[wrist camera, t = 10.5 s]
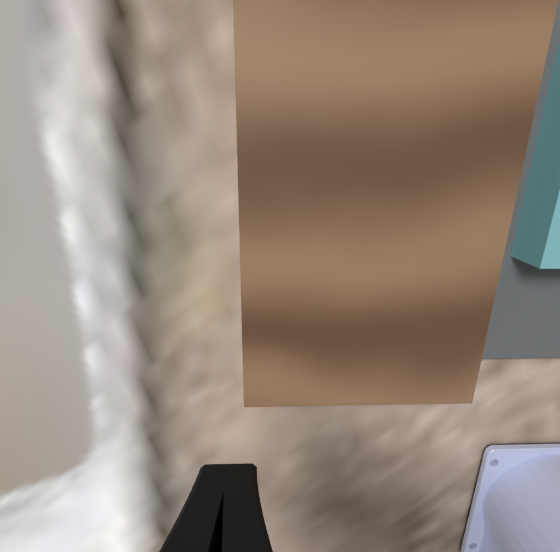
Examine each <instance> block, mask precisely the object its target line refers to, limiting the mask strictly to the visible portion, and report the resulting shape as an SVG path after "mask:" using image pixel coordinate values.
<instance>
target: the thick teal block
mask: <svg viewBox="0 0 560 552" xmlns="http://www.w3.org/2000/svg"><path fill="white" fill-rule="evenodd" d="M511 257H513V258H516V259H518V260H521V261H523V262H525V263H528V264H530V265H532V266H535V267H537V268H539V269H560V42H559V43H558V45H557V50H556V54H555V59H554V63H553V68H552V72H551V77H550V81H549V86H548V90H547V95H546V99H545V104H544V108H543V113H542V117H541V122H540V126H539V131H538V135H537V140H536V144H535V149H534V153H533V158H532V162H531V167H530V171H529V176H528V180H527V185H526V189H525V194H524V198H523V203H522V207H521V212H520V216H519V221H518V225H517V230H516V234H515V239H514V243H513V248H512V252H511Z"/></svg>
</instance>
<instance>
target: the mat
mask: <svg viewBox="0 0 560 552" xmlns="http://www.w3.org/2000/svg"><path fill="white" fill-rule="evenodd" d="M559 42H560V0H559V1H558V6H557V10H556V15H555V20H554V24H553V29H552V34H551V38H550V43H549V48H548V52H547V57H546V62H545V66H544V71H543V76H542V80H541V85H540V89H539V94H538V99H537V103H536V108H535V113H534V117H533V122H532V127H531V131H530V136H529V141H528V145H527V150H526V154H525V159H524V164H523V168H522V173H521V178H520V182H519V187H518V192H517V196H516V201H515V206H514V210H513V215H512V220H511V224H510V229H509V233H508V238H507V243H506V247H505V252H504V257H503V261H502V266H501V271H500V275H499V280H498V285H497V289H496V294H495V299H494V303H493V308H492V312H491V317H490V322H489V326H488V331H487V336H486V340H485V345H484V350H483V354H482V359H499V358H560V269H539V268H537V267H535V266H532V265H530V264H528V263H525V262H523V261H521V260H518V259H516V258H513V257H511V252H512V248H513V243H514V239H515V234H516V230H517V225H518V221H519V216H520V212H521V207H522V203H523V198H524V194H525V189H526V185H527V180H528V176H529V171H530V167H531V162H532V158H533V153H534V149H535V144H536V140H537V135H538V131H539V126H540V122H541V117H542V113H543V108H544V104H545V99H546V95H547V90H548V86H549V81H550V77H551V72H552V68H553V63H554V59H555V54H556V50H557V45H558V43H559Z"/></svg>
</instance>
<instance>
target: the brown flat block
mask: <svg viewBox="0 0 560 552" xmlns="http://www.w3.org/2000/svg"><path fill="white" fill-rule="evenodd" d="M558 1H559V0H234V38H235V77H236V115H237V154H238V192H239V231H240V269H241V308H242V346H243V385H244V407H277V406H337V405H397V404H457V403H472V401H473V396H474V391H475V387H476V382H477V377H478V373H479V368H480V364H481V359H482V354H483V350H484V345H485V340H486V336H487V331H488V326H489V322H490V317H491V312H492V308H493V303H494V299H495V294H496V289H497V285H498V280H499V275H500V271H501V266H502V261H503V257H504V252H505V247H506V243H507V238H508V233H509V229H510V224H511V220H512V215H513V210H514V206H515V201H516V196H517V192H518V187H519V182H520V178H521V173H522V168H523V164H524V159H525V154H526V150H527V145H528V141H529V136H530V131H531V127H532V122H533V117H534V113H535V108H536V103H537V99H538V94H539V89H540V85H541V80H542V76H543V71H544V66H545V62H546V57H547V52H548V48H549V43H550V38H551V34H552V29H553V24H554V20H555V15H556V10H557V6H558Z"/></svg>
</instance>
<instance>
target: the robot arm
mask: <svg viewBox="0 0 560 552" xmlns="http://www.w3.org/2000/svg"><path fill="white" fill-rule="evenodd" d="M159 552H273V551H272V548H271V544H270V541H269V537H268V533H267V530H266V526H265V522H264V518H263V513H262V508H261V503H260V498H259V492H258V485H257V467H256V466H255V465H254V464H210V465H204V466H203V467H201V468H200V471H199V473H198V476H197V478H196V481H195V483H194V485H193V488H192V490H191V492H190V494H189V496H188V498H187V500H186V502H185V504H184V506H183V508H182V510H181V512H180V514H179V516H178V518H177V520H176V522H175V524H174V526H173V528H172V529H171V531H170V533H169V535H168V537H167V539H166V540H165V542H164V544H163V546H162V548H161V550H160V551H159ZM460 552H560V444H519V445H491V446H489V447H487V448H486V449H485V451H484V455H483V459H482V463H481V468H480V472H479V476H478V480H477V484H476V488H475V493H474V497H473V501H472V505H471V509H470V513H469V518H468V522H467V526H466V530H465V534H464V538H463V542H462V547H461V551H460Z"/></svg>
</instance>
